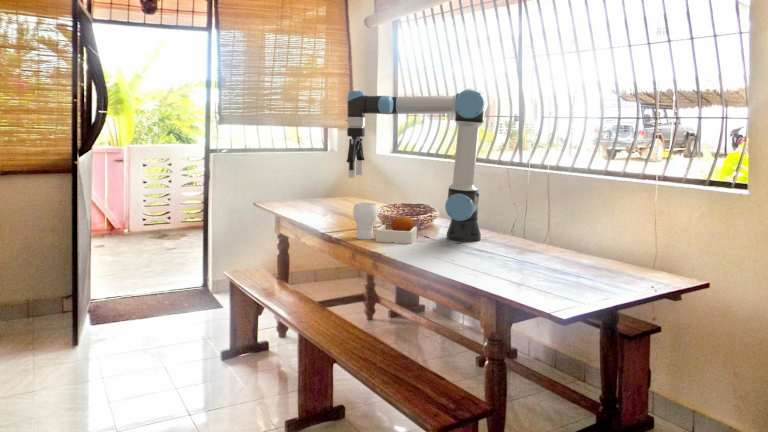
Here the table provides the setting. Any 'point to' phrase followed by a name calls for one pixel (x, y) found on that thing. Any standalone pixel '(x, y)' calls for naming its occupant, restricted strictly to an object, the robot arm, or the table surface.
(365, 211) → the cup
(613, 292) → the table surface
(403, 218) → the fruit
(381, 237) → the frame
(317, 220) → the table surface
